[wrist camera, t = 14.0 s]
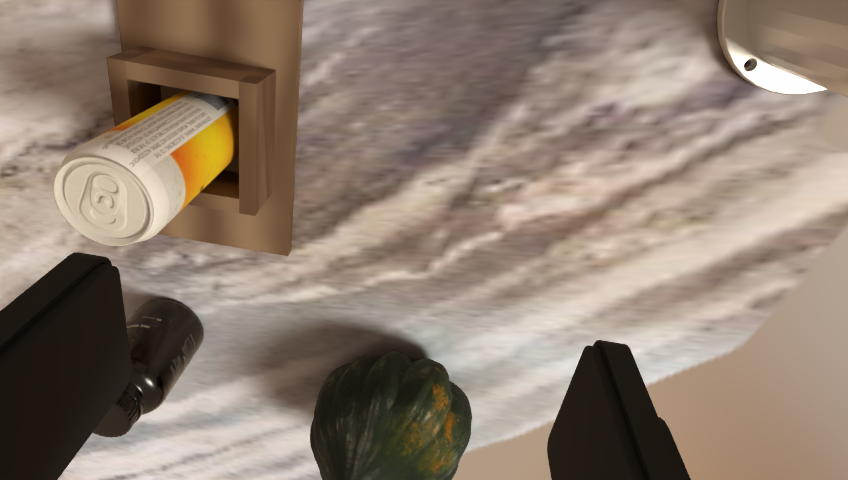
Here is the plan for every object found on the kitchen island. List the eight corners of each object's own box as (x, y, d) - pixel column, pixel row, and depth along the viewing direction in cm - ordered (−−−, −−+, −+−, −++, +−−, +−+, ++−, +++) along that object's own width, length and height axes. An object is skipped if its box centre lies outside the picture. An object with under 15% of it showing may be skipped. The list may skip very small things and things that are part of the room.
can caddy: (304, -16, 38) (281, -9, 34) (290, 250, 49) (272, 284, 44) (119, -50, 38) (70, -48, 33) (146, 225, 49) (112, 257, 44)
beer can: (167, 141, 44) (41, 228, 30) (181, 70, 41) (49, 131, 28) (240, 171, 44) (149, 267, 31) (259, 103, 42) (168, 177, 29)
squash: (509, 464, 53) (450, 514, 40) (385, 504, 58) (295, 561, 45) (457, 327, 57) (388, 330, 44) (345, 375, 62) (251, 392, 49)
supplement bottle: (159, 283, 52) (82, 371, 41) (219, 325, 54) (160, 419, 43) (124, 324, 54) (44, 416, 44) (183, 362, 56) (119, 458, 46)
